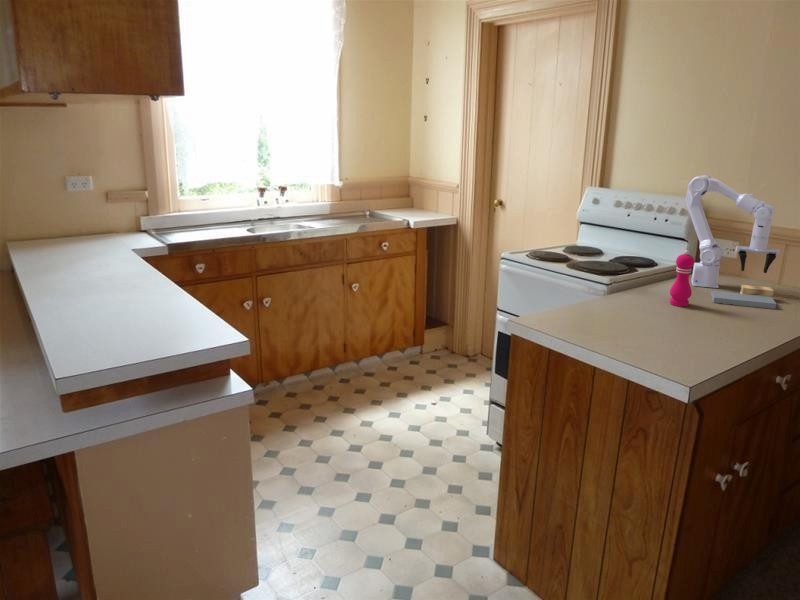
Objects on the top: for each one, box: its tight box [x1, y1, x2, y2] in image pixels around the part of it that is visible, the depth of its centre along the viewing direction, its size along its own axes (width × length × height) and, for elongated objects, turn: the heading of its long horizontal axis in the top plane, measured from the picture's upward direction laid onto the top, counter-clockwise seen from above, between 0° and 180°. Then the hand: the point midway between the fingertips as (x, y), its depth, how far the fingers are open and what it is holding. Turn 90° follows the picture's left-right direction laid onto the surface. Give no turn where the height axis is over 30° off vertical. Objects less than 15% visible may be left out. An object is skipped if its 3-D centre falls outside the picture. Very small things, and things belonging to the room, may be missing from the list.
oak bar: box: [739, 284, 775, 299], centre depth 236 cm, size 10×5×4 cm, turn 70°
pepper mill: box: [669, 249, 695, 307], centre depth 225 cm, size 7×7×20 cm
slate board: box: [710, 290, 777, 310], centre depth 231 cm, size 20×10×2 cm, turn 70°
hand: (753, 271), depth 242 cm, fingers open, 7 cm apart
